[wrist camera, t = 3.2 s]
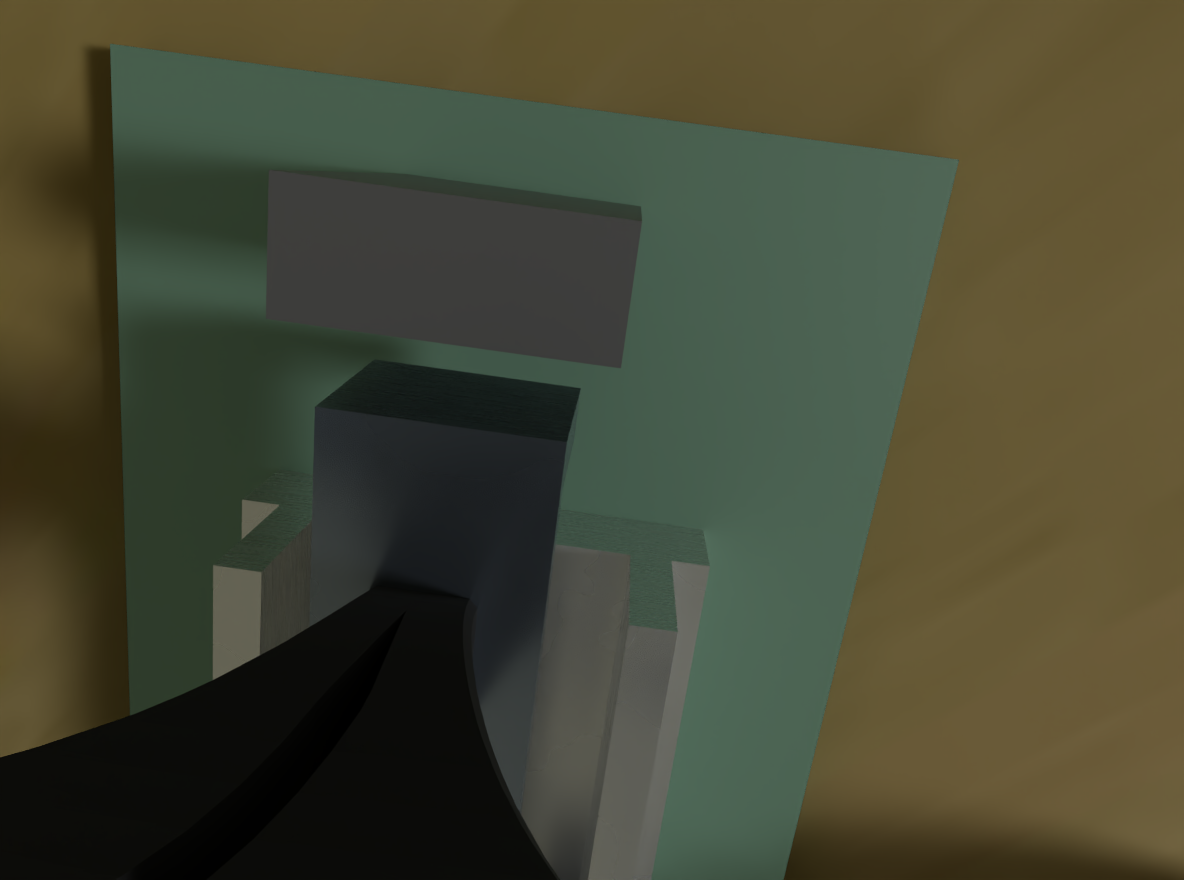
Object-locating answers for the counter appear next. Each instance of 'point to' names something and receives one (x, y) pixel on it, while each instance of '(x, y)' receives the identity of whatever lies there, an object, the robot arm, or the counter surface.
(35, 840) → the robot arm
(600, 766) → the heat sink
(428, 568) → the metal bar
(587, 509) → the motherboard
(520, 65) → the counter surface
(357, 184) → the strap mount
